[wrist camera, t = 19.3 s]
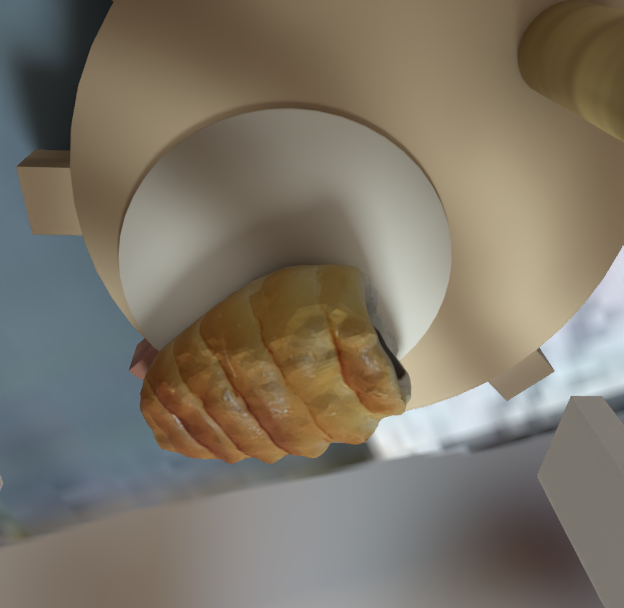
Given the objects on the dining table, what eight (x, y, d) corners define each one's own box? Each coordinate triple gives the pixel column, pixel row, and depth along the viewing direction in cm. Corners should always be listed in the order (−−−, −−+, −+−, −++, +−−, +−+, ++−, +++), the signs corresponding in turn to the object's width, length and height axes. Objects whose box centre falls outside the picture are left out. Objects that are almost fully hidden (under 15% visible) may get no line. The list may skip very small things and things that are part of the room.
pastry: (203, 454, 23) (192, 536, 20) (102, 335, 20) (69, 411, 17) (418, 369, 22) (443, 444, 18) (346, 223, 18) (362, 284, 15)
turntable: (329, 480, 28) (350, 681, 20) (-95, 177, 18) (-345, 341, 11) (762, 199, 21) (1039, 347, 13) (426, -503, 12) (708, -1306, 4)
